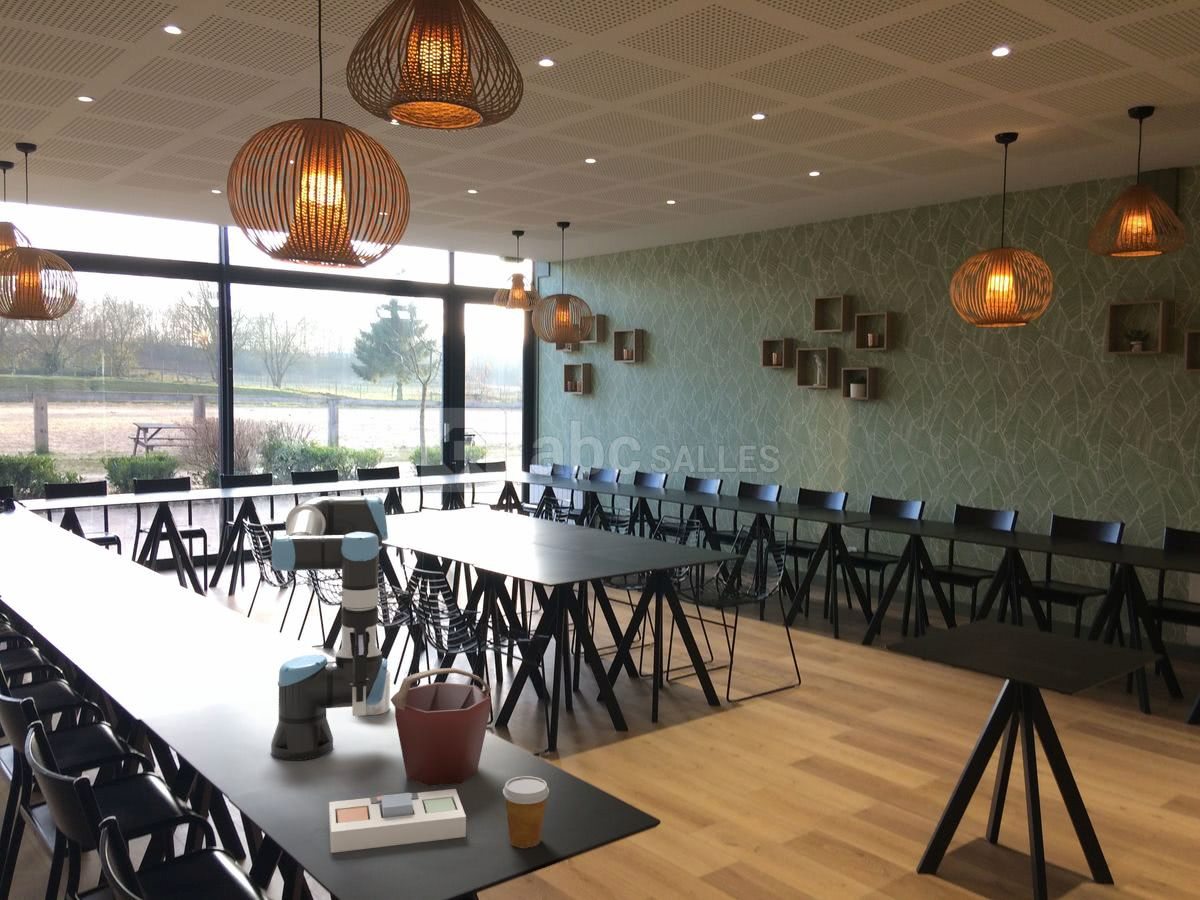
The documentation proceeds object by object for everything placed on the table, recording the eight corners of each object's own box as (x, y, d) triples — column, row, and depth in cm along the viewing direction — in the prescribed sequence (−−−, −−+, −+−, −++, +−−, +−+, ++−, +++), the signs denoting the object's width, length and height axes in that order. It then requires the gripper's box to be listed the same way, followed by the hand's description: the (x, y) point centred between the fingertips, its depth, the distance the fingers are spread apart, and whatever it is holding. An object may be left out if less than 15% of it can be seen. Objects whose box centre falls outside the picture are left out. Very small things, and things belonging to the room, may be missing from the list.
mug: (396, 705, 275) (396, 667, 275) (383, 719, 263) (383, 680, 263) (361, 702, 276) (361, 666, 276) (346, 717, 264) (346, 678, 264)
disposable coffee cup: (548, 830, 200) (549, 775, 199) (547, 852, 190) (548, 794, 189) (503, 830, 199) (504, 775, 198) (500, 852, 190) (501, 794, 189)
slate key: (380, 807, 200) (381, 795, 200) (409, 803, 202) (409, 792, 202) (383, 819, 195) (383, 807, 194) (412, 816, 196) (412, 804, 196)
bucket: (391, 794, 215) (392, 687, 214) (386, 757, 236) (387, 659, 235) (497, 785, 222) (499, 681, 220) (483, 750, 243) (485, 654, 241)
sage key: (423, 812, 203) (423, 800, 203) (451, 809, 205) (451, 797, 205) (427, 824, 197) (427, 812, 197) (455, 821, 199) (455, 809, 199)
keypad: (329, 821, 201) (329, 800, 201) (455, 807, 209) (455, 786, 209) (330, 852, 188) (331, 829, 188) (465, 836, 196) (466, 814, 196)
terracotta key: (337, 821, 198) (337, 810, 198) (366, 818, 199) (366, 806, 199) (338, 834, 192) (338, 822, 192) (368, 831, 194) (368, 819, 194)
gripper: (340, 599, 204) (339, 704, 206) (342, 615, 192) (341, 727, 194) (376, 597, 206) (375, 702, 209) (380, 613, 194) (379, 724, 196)
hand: (359, 714), depth 201 cm, fingers closed
